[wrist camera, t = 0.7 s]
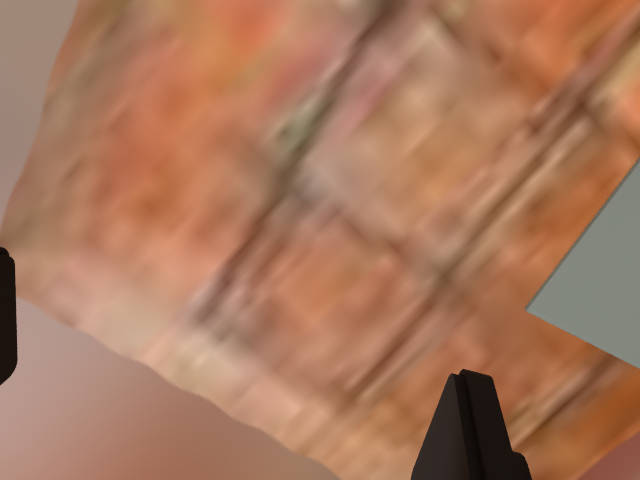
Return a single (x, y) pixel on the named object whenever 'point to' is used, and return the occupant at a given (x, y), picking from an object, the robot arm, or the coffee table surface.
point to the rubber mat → (601, 278)
